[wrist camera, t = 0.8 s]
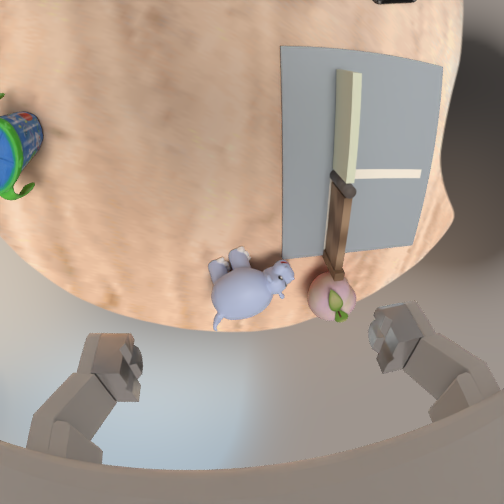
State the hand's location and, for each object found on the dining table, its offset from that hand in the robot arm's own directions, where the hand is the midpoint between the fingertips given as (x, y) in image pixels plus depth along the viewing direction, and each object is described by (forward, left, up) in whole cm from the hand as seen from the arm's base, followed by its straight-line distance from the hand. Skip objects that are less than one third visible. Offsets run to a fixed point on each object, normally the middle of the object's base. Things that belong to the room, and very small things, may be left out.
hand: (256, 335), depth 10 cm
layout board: (+8, +21, -35) cm, 42 cm away
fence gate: (+1, +16, -35) cm, 38 cm away
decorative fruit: (+31, +16, -36) cm, 50 cm away
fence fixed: (+17, +16, -35) cm, 42 cm away
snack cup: (-3, -30, -36) cm, 47 cm away
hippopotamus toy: (+27, +2, -36) cm, 45 cm away
